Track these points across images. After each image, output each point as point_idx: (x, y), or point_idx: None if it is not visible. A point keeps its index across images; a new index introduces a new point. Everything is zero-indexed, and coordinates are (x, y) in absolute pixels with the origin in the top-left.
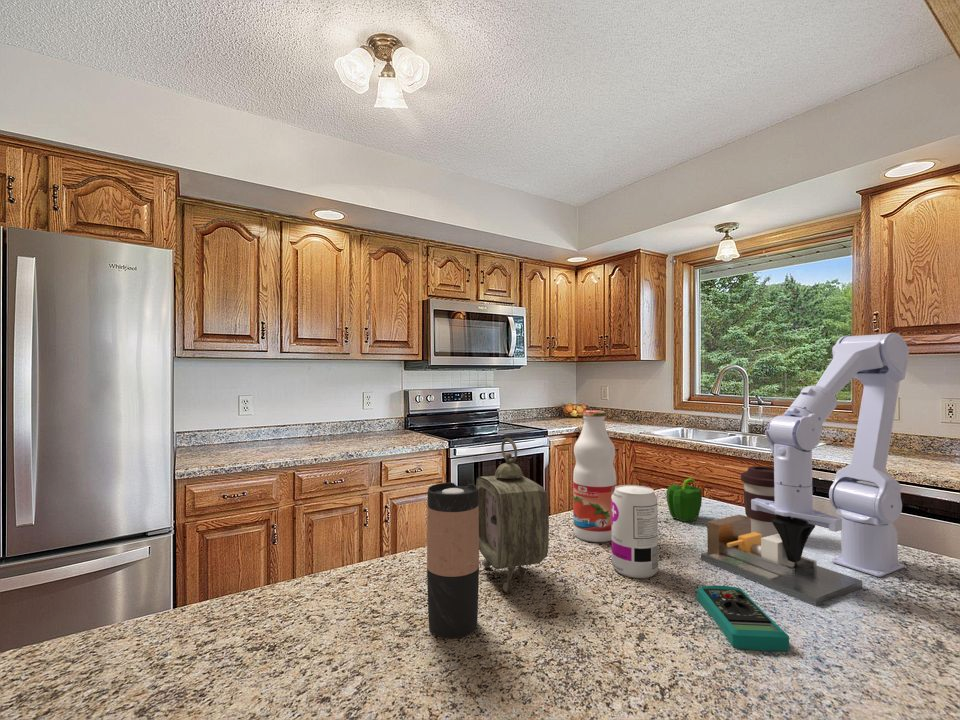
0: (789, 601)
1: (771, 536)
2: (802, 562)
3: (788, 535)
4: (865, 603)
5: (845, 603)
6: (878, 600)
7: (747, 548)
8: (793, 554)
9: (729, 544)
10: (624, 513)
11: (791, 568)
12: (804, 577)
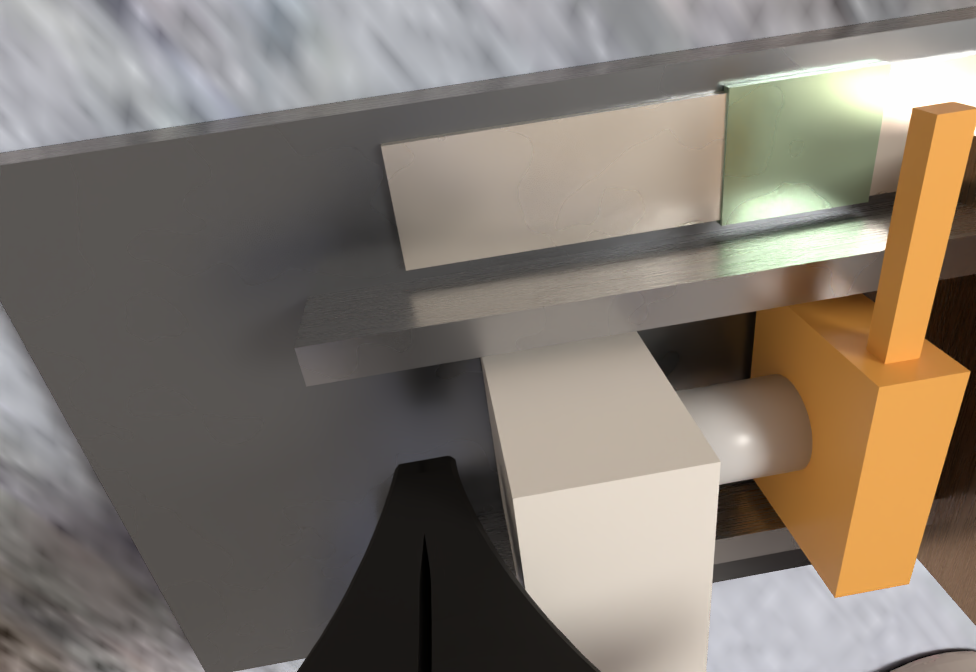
0: (88, 16)
1: (690, 586)
2: None
3: (406, 658)
4: (11, 505)
5: (18, 401)
6: (48, 591)
7: (809, 352)
8: (387, 510)
9: (938, 111)
10: None
11: (308, 354)
12: (339, 430)
